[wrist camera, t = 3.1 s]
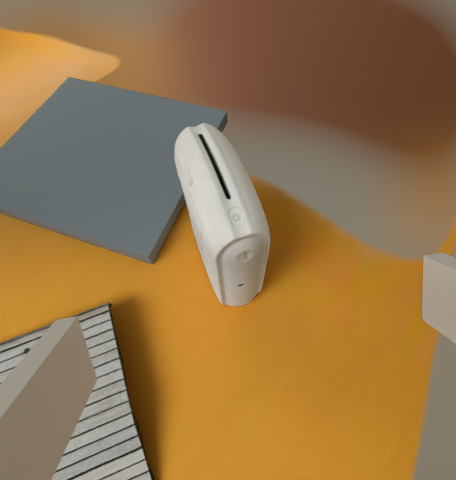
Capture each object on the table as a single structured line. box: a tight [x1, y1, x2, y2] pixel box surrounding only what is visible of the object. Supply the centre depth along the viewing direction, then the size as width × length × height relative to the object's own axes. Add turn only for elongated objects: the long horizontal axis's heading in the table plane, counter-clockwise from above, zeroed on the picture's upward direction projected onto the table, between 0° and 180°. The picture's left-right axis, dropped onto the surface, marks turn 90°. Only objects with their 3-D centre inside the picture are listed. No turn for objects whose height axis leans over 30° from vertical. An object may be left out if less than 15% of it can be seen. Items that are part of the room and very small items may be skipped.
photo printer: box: [174, 123, 271, 306], centre depth 23 cm, size 10×4×12 cm, turn 20°
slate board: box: [0, 77, 227, 264], centre depth 35 cm, size 22×20×2 cm
